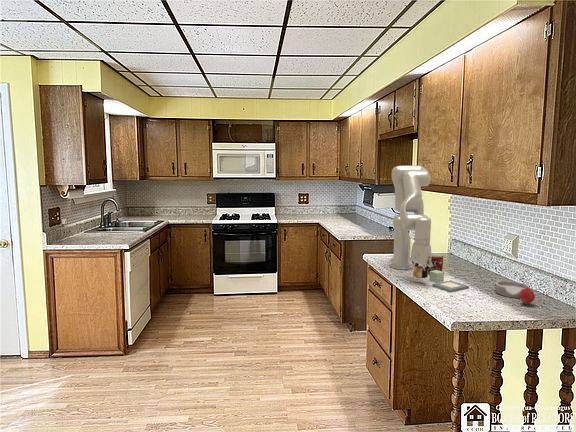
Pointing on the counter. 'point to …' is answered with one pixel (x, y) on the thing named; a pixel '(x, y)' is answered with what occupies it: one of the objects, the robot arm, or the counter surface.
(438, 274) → the sage block
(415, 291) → the counter surface
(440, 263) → the canned food
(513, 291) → the dish
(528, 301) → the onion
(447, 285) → the build board
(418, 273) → the oak block
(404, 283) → the counter surface
